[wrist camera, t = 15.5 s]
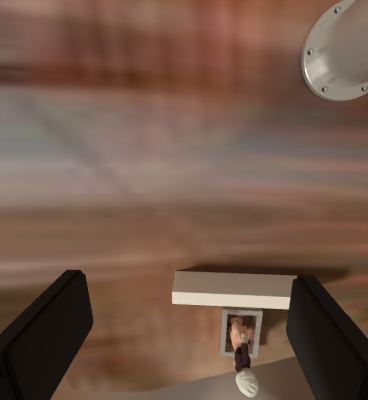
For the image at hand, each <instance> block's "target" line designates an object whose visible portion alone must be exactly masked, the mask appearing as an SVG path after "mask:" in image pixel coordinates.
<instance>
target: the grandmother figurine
mask: <svg viewBox="0 0 368 400" xmlns="http://www.w3.org/2000/svg"><path fill="white" fill-rule="evenodd" d="M230 323H231V324H232V326H230V327H229V328H228V331H229V332H230V336H231V340H232V344H233V347H234V350H235V359H234V360H233V364H234V366H235V369H236V371H237V372H238V374H237V376H236V383H237V385H238V386H239V389H240V390H241V392H242V393H243V394H245V395H246V396H248V397H254V396H255V395H256V394H257V392H258V389H259V388H258V386H259V385H258V381H257V380H256V377H255V374H254V372H253V371H252V370H251V369H250V363H251V361H250V356H249V353H248V336H247V329H246V326H245V325H243V326H242V324H243V319H242V318H240V317H234V318H231V319H230Z"/></svg>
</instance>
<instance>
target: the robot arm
mask: <svg viewBox="0 0 368 400" xmlns="http://www.w3.org/2000/svg"><path fill="white" fill-rule="evenodd" d="M307 53H309V55H308V54H307ZM301 67H302V73H303V76H304V79H305V81H306V83H307V85H308V86H309V88H310V89H311V90H312V91H313V92H314V93H315V94H316V95H318V96H319V97H321V98H323V99H326V100H329V101H337V102H340V101H348V100H351V99H355V98H358V97H360V96H363V95H365V94H367V93H368V0H342V1H340V2H339V3H337V4H335V5H333V6H332V7H331V8H330V9H329V10H327V11H326V12H325V13H324V14H323V15H322V16H321V17H320V18H319V19H318V20H317V22H316V23H315V24H314V26H313V27H312V28H311V30H310V32H309V34H308V36H307V38H306V40H305V43H304V46H303V50H302V56H301ZM322 89H323V92H322ZM92 325H93V315H92V309H91V304H90V298H89V293H88V287H87V282H86V276H85V274H84V273H82V271H81V270H66V271H65V272H64V273H63V274H62V275H61V276H60V277H59V278H58V279H57V280H56V281H55V282H54V283H52V284H51V285H50V286H49V287H48V288H47V289H46V290H45V291H44V292H43V293H42V294H41V295H40V296H39V297H38V298H37V299H36V300H35V301H34V302H33V303H32V304H31V305H30V306H29V307H28V308H26V309H25V310H24V311H23V312H22V313H21V314H20V315H19V316H18V317H17V318H16V319H15V320H14V321H13V322H12V323H11V324H10V325H9V326H8V327H7V328H6V329H5V330H4V331H3V332H2V333H0V400H50V399H51V397H52V395H53V394H54V392H55V390H56V388H57V387H58V385H59V383H60V382H61V380H62V378H63V376H64V375H65V373H66V371H67V370H68V368H69V366H70V364H71V363H72V361H73V359H74V358H75V356H76V354H77V352H78V351H79V349H80V347H81V345H82V344H83V342H84V340H85V339H86V337H87V335H88V333H89V332H90V330H91V328H92ZM286 332H287V336H288V339H289V341H290V344H291V346H292V348H293V350H294V352H295V355H296V357H297V359H298V361H299V364H300V366H301V368H302V370H303V373H304V374H305V377H306V379H307V381H308V384H309V386H310V388H311V390H312V393H313V394H314V397H315V399H316V400H368V338H367V337H366V336H365V335H364V334H363V333H362V331H361V330H360V329H359V328H358V327H357V325H356V324H355V323H354V322H353V321H352V320H351V318H350V317H349V316H348V315H347V314H346V313H345V312H344V311H343V310H342V308H341V307H340V306H339V305H338V304H337V302H336V301H335V300H334V299H333V298H332V297H331V295H330V294H329V293H328V292H327V291H326V289H325V288H324V287H323V286H322V285H321V284H320V282H319V281H318V280H317V279H316V278H315V277H314V276H311V275H298V276H297V279H293V282H292V289H291V296H290V304H289V311H288V318H287V326H286Z"/></svg>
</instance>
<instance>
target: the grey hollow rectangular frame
mask: <svg viewBox="0 0 368 400" xmlns="http://www.w3.org/2000/svg"><path fill="white" fill-rule="evenodd" d="M227 314H235V315H253V316H252V325H251V335H250V343H248V353H249V356H250V358H257V355H258V347H259V339H260V331H261V323H262V314H263V311H262V308H253V307H232V306H221V311H220V329H219V353H220V356H233V357H235V350H234V347H233V344H232V342H231V341H226V328H227Z"/></svg>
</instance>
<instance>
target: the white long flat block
mask: <svg viewBox="0 0 368 400" xmlns="http://www.w3.org/2000/svg"><path fill="white" fill-rule="evenodd" d="M293 279H297V276H293V275H267V274H241V273H215V272H189V271H176V273H175V279H174V285H173V290H172V304H191V305H212V306H232V307H253V308H273V309H289V304H290V296H291V289H292V282H293Z"/></svg>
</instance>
